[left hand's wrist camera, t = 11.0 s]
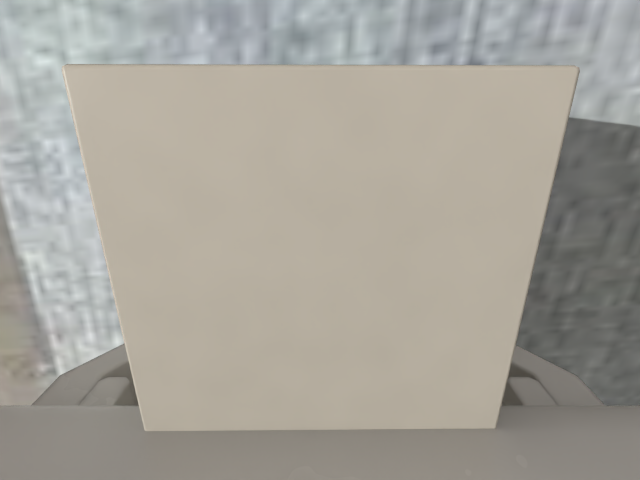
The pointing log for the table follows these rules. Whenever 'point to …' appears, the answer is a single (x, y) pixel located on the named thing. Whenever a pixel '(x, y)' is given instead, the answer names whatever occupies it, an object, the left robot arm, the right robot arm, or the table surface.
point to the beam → (320, 235)
